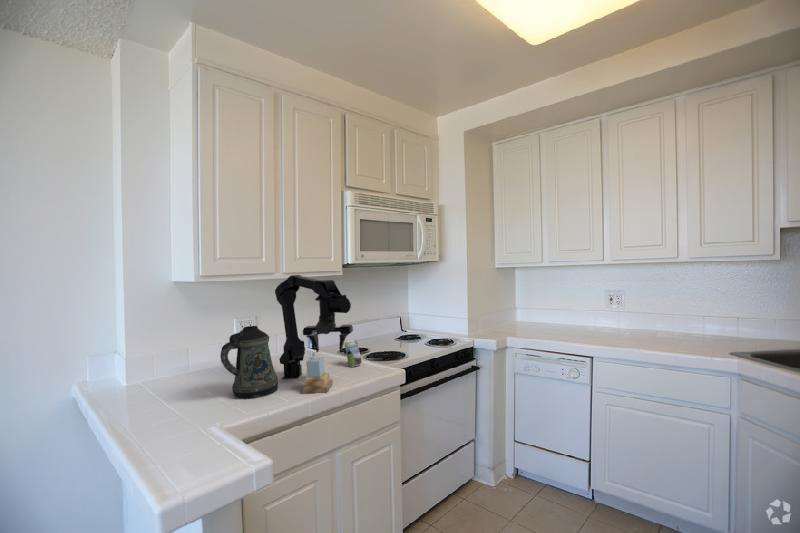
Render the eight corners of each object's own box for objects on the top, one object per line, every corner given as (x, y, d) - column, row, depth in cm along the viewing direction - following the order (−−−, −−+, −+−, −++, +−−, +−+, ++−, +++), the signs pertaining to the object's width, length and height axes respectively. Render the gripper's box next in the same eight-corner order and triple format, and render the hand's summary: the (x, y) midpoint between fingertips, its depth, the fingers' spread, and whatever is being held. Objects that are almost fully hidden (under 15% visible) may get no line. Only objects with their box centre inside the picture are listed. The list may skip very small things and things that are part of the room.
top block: (305, 386, 140) (305, 378, 140) (311, 381, 147) (311, 373, 147) (324, 386, 139) (323, 378, 139) (329, 380, 146) (329, 373, 146)
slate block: (307, 377, 142) (306, 361, 142) (312, 373, 147) (311, 358, 147) (320, 377, 141) (319, 361, 141) (324, 373, 146) (323, 357, 146)
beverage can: (360, 367, 172) (359, 341, 172) (344, 368, 172) (343, 341, 172) (362, 363, 178) (361, 338, 178) (346, 364, 178) (345, 339, 178)
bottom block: (302, 395, 140) (302, 387, 139) (310, 387, 148) (309, 380, 148) (326, 395, 139) (326, 387, 139) (332, 387, 148) (332, 379, 148)
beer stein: (287, 385, 150) (284, 322, 150) (256, 403, 132) (252, 332, 131) (251, 384, 155) (248, 323, 155) (216, 401, 136) (213, 331, 136)
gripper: (296, 315, 142) (298, 357, 142) (345, 314, 140) (347, 356, 140) (306, 311, 153) (308, 350, 153) (352, 310, 151) (354, 349, 151)
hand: (329, 351), depth 149 cm, fingers open, 9 cm apart
